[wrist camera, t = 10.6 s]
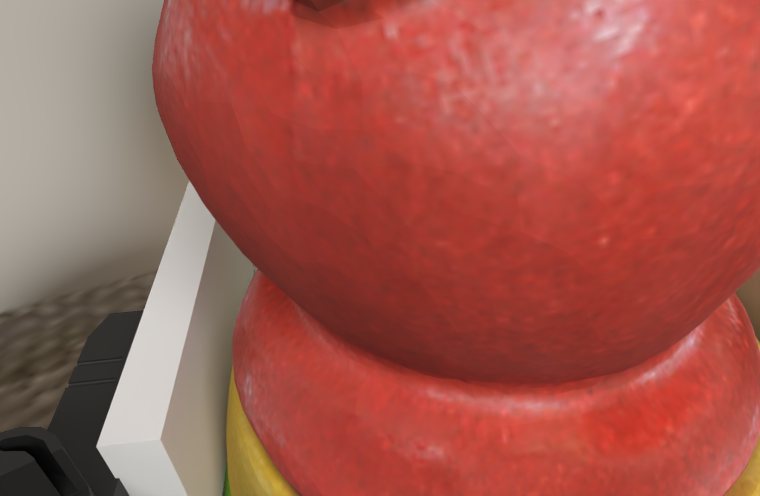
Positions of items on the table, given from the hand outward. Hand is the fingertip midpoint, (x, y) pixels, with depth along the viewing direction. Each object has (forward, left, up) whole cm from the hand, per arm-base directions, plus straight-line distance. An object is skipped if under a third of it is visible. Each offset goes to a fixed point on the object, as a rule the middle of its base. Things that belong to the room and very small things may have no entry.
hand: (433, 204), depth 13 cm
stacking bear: (0, -4, -10) cm, 11 cm away
